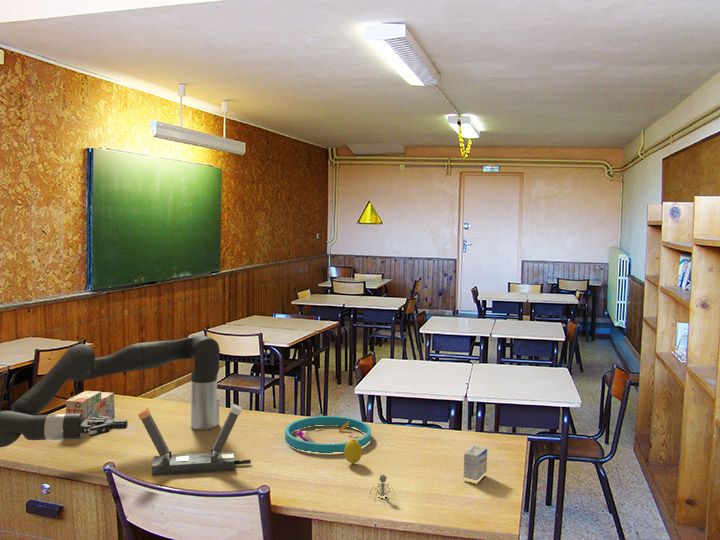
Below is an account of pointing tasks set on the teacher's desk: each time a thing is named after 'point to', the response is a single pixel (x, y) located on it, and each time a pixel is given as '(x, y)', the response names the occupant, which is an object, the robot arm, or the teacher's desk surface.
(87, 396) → the stack of blocks
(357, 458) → the lemon
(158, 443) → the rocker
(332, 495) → the teacher's desk surface
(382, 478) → the bacteriophage
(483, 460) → the medicine box
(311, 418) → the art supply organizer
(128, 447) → the teacher's desk surface
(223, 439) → the lever
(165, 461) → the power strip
